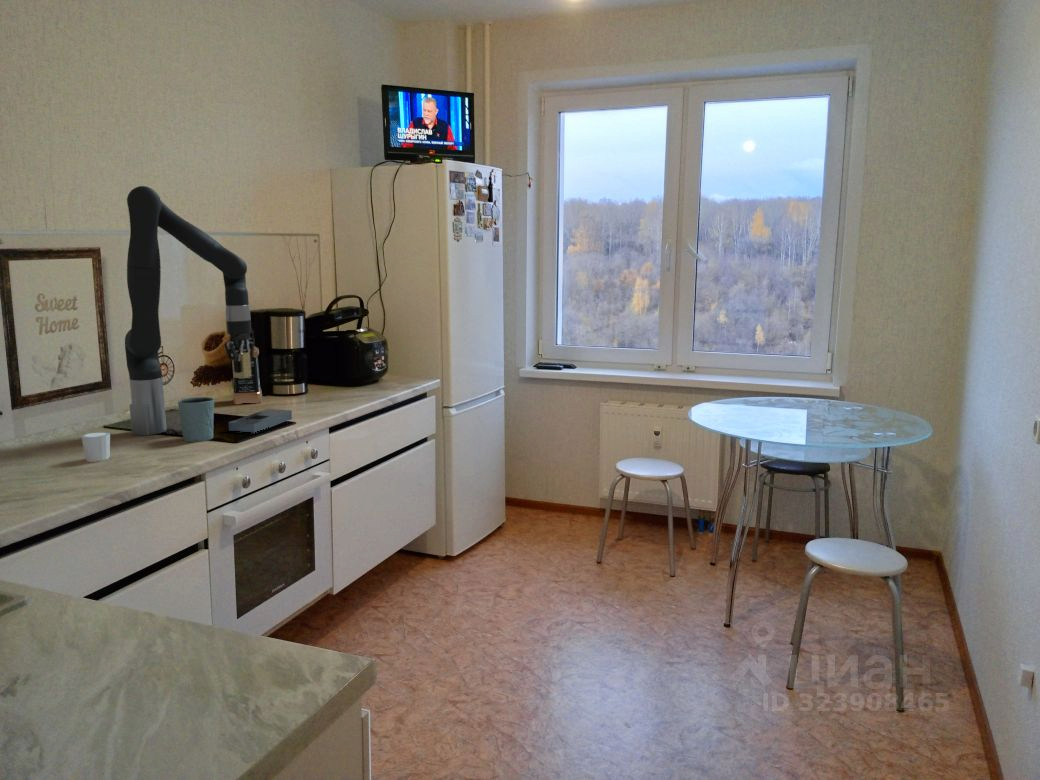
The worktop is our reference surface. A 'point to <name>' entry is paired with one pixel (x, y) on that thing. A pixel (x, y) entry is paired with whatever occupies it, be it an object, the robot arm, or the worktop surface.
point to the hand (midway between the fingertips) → (242, 371)
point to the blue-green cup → (197, 418)
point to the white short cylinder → (96, 446)
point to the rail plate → (260, 420)
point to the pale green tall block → (243, 366)
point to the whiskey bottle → (248, 383)
